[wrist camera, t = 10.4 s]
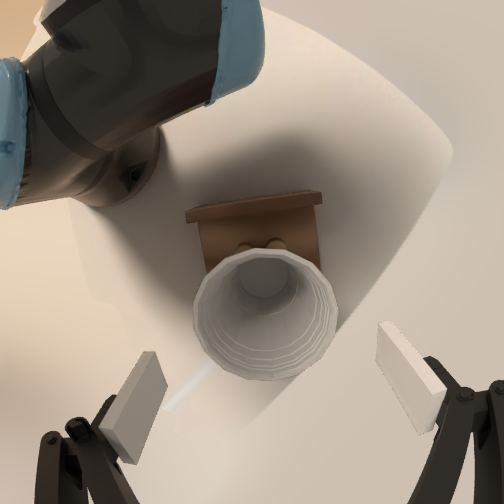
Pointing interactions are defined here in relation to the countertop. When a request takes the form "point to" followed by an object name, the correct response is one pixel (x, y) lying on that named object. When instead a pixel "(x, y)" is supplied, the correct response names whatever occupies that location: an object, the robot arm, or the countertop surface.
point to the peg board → (259, 226)
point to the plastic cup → (265, 314)
